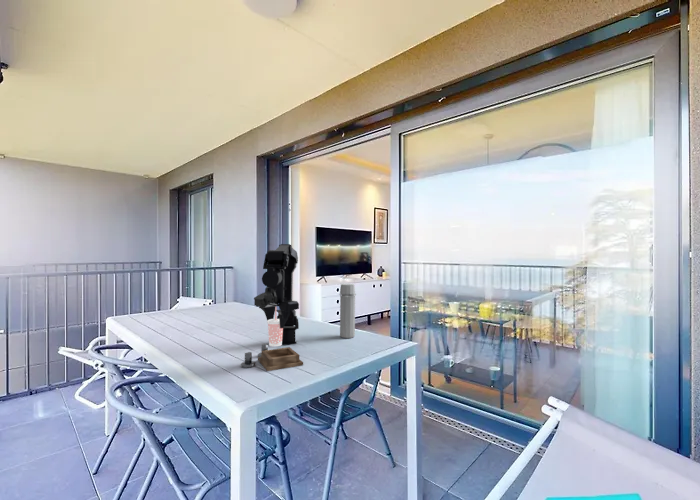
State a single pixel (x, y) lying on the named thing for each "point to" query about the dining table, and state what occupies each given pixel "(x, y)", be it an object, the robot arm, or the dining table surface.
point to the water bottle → (347, 310)
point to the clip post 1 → (248, 361)
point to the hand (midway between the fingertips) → (275, 326)
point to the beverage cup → (275, 331)
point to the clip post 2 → (263, 348)
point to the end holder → (279, 359)
